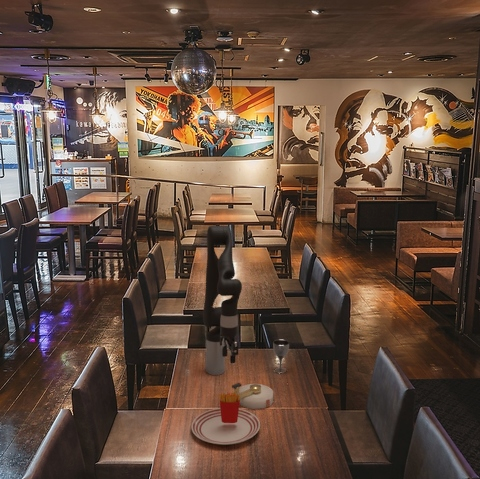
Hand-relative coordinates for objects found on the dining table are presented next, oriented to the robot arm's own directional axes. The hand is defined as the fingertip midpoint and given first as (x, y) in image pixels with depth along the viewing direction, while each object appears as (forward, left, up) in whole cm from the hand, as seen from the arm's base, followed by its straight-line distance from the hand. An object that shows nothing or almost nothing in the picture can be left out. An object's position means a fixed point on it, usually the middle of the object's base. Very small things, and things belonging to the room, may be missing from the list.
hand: (228, 359), depth 235 cm
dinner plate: (+18, -16, -20) cm, 32 cm away
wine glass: (-8, +41, -20) cm, 46 cm away
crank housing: (+7, +10, -20) cm, 23 cm away
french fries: (+17, -14, -17) cm, 28 cm away
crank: (+7, +4, -15) cm, 17 cm away
